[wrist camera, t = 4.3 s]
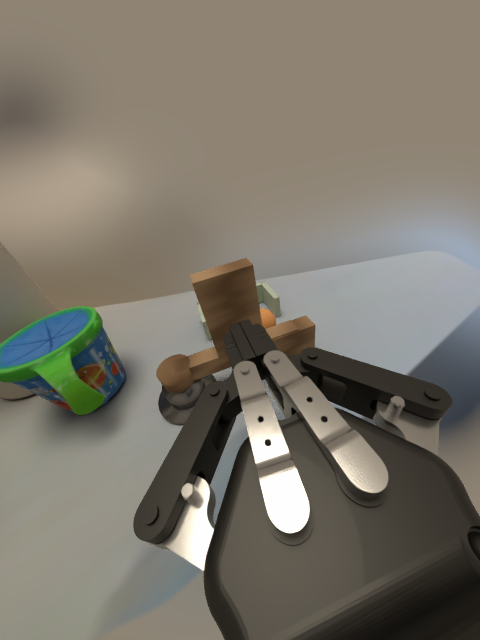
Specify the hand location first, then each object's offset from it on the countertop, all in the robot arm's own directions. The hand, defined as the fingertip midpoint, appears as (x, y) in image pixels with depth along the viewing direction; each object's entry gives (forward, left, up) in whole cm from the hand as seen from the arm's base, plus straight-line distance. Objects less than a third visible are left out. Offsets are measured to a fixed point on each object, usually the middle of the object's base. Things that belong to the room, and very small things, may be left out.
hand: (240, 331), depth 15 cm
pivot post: (-7, +6, -12) cm, 15 cm away
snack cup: (-19, +12, -12) cm, 25 cm away
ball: (+5, +12, -10) cm, 16 cm away
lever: (0, +5, -11) cm, 13 cm away
